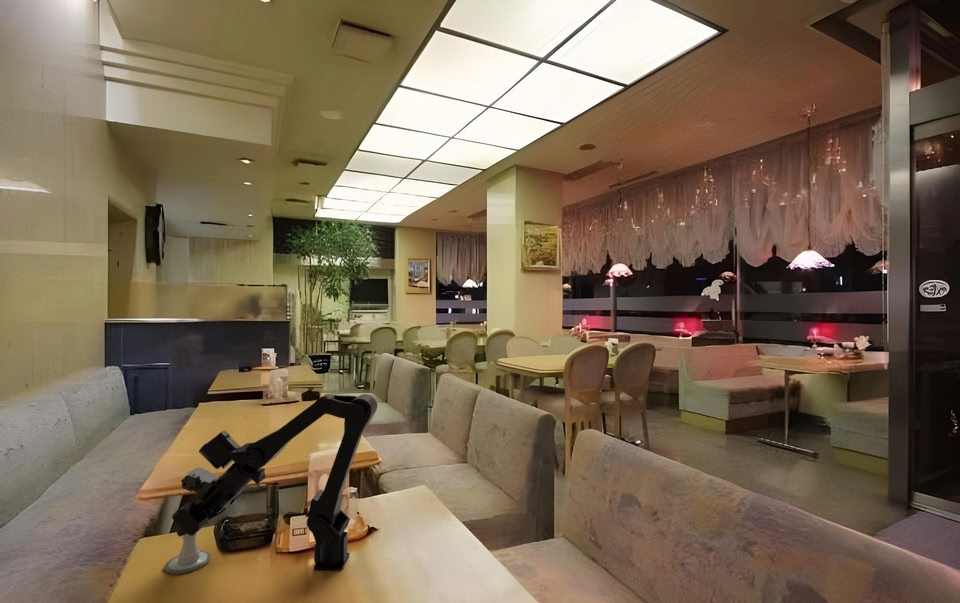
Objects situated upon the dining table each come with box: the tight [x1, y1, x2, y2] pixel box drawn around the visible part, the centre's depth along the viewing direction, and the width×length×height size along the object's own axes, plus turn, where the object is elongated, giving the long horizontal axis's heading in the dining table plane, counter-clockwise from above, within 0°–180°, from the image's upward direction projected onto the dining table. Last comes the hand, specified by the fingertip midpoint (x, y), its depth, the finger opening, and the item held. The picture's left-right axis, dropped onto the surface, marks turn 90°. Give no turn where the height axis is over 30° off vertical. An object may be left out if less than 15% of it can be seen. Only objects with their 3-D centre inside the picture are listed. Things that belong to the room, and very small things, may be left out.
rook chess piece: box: [177, 533, 201, 565], centre depth 105 cm, size 4×4×8 cm
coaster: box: [164, 550, 212, 576], centre depth 105 cm, size 9×9×1 cm
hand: (183, 531), depth 105 cm, fingers closed on rook chess piece, 3 cm apart
